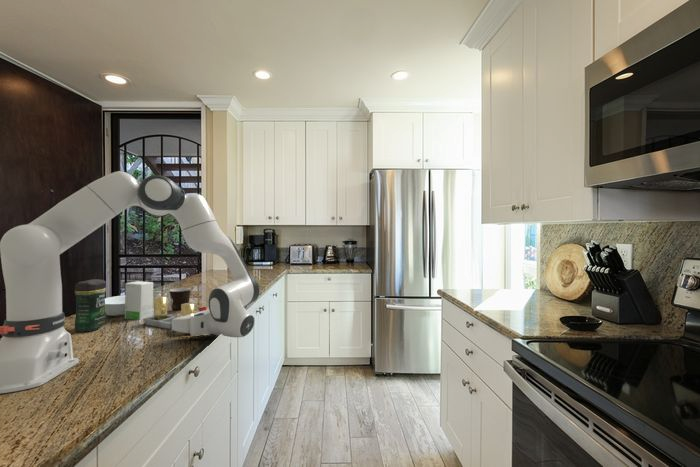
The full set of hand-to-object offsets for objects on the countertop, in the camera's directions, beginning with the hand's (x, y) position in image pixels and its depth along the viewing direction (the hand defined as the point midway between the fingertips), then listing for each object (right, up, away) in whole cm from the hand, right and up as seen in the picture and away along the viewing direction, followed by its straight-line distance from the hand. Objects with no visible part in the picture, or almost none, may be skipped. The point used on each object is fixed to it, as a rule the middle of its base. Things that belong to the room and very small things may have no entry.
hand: (186, 315), depth 124 cm
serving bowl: (-39, -6, +25) cm, 46 cm away
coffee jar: (-37, -6, +3) cm, 38 cm away
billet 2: (+1, -6, 0) cm, 6 cm away
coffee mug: (-16, -5, +28) cm, 32 cm away
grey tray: (-10, -6, +5) cm, 12 cm away
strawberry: (-2, -6, +15) cm, 16 cm away
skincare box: (-27, -6, +15) cm, 32 cm away
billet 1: (-13, -4, +6) cm, 15 cm away
